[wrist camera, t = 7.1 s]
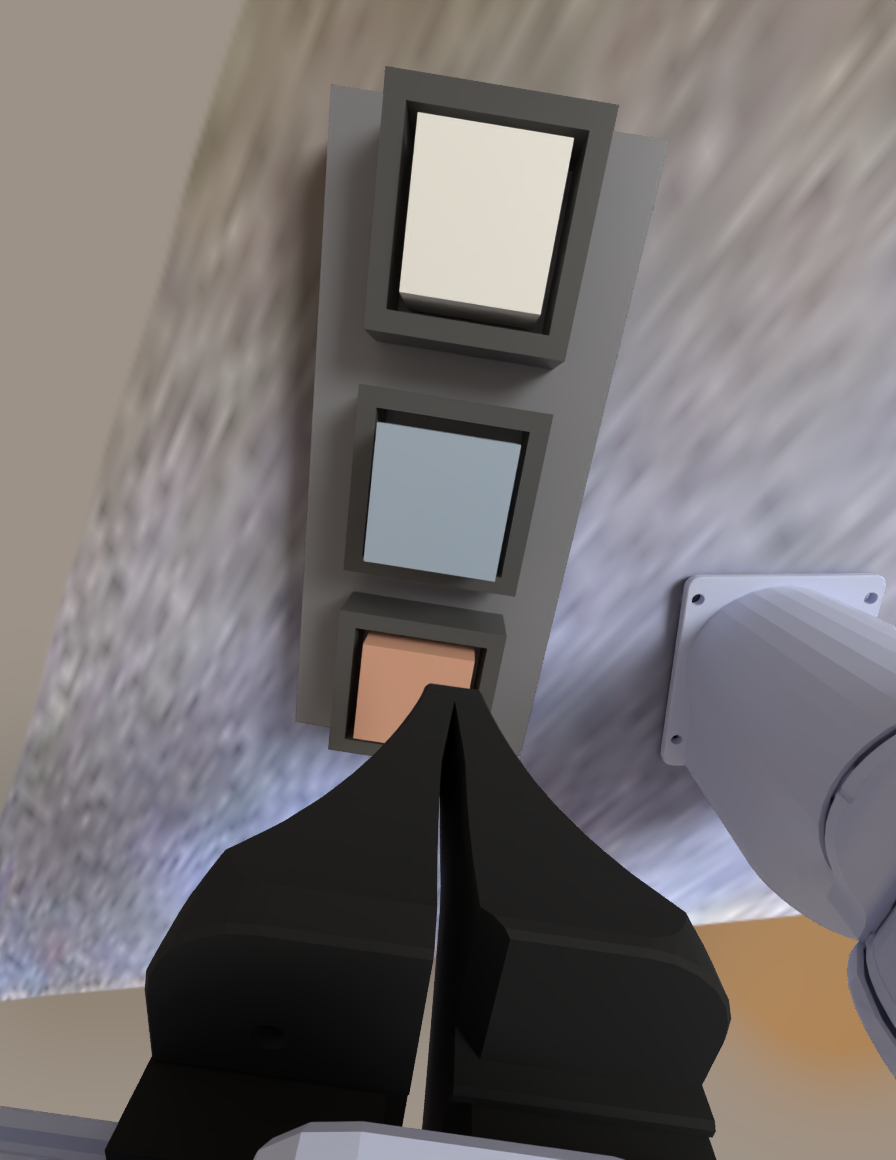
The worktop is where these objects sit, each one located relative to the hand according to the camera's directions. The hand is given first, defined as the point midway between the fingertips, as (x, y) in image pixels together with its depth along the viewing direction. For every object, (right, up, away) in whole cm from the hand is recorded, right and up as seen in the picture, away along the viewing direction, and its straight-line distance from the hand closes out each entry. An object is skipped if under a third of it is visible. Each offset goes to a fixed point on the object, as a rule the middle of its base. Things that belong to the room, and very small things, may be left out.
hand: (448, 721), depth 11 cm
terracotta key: (-1, 0, +8) cm, 8 cm away
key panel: (0, +7, +7) cm, 11 cm away
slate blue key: (0, +6, +4) cm, 7 cm away
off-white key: (+1, +14, +3) cm, 14 cm away
